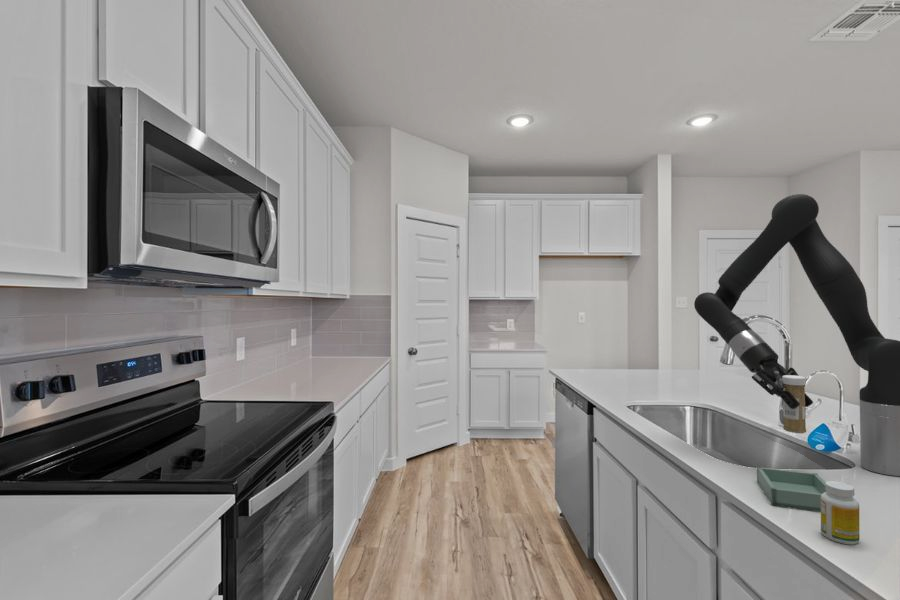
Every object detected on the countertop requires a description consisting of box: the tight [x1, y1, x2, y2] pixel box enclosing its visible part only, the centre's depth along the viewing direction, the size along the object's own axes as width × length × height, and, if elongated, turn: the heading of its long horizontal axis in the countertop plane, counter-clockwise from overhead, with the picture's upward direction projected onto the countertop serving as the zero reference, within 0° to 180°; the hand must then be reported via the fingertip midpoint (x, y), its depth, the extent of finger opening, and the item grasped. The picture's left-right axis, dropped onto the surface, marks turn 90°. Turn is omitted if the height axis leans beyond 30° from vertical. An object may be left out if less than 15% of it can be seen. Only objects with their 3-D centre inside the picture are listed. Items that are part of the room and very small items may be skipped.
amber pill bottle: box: [782, 375, 807, 434], centre depth 110 cm, size 5×5×14 cm
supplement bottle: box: [820, 480, 861, 546], centre depth 82 cm, size 5×5×10 cm
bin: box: [756, 466, 827, 513], centre depth 100 cm, size 14×12×4 cm
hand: (802, 405), depth 109 cm, fingers closed on amber pill bottle, 4 cm apart
